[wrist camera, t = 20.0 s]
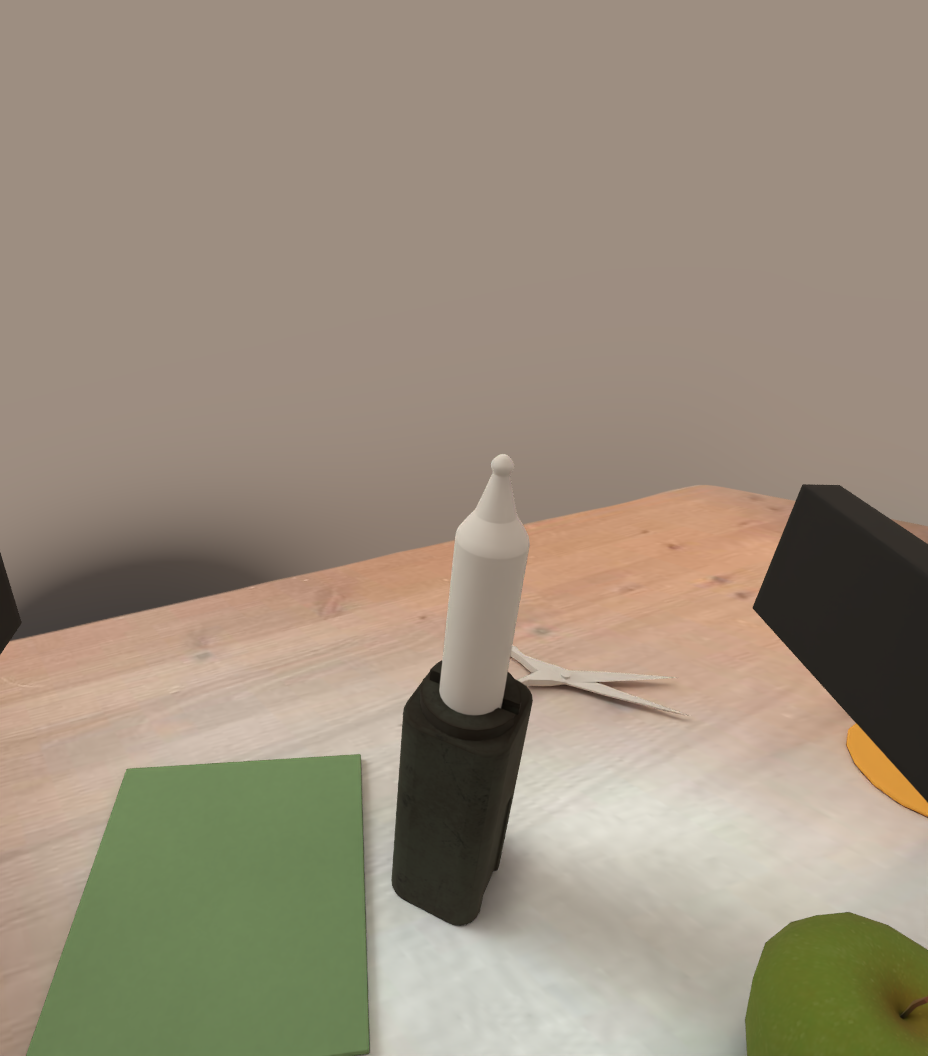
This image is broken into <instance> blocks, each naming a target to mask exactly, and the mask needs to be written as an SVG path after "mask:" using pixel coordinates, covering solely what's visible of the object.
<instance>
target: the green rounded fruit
mask: <svg viewBox="0 0 928 1056" xmlns="http://www.w3.org/2000/svg"><path fill="white" fill-rule="evenodd" d="M745 1026H746V1043H747V1056H928V950H927V949H926V948H924V947H922V946H921V945H919V944H917V943H916V942H914V941H913V940H911V939H909V938H908V937H906V936H905V935H903V934H901V933H900V932H898V931H897V930H895V929H893V928H892V927H890V926H888V925H886V924H883V923H880V922H877V921H874V920H871V919H868V918H865V917H862V916H859V915H856V914H853V913H850V912H845V913H836V914H826V915H816V916H813V917H809V918H805V919H802V920H798V921H794V922H791V923H789V924H788V925H787V926H786V927H784V928H783V929H782V930H781V931H779V932H778V933H777V934H776V935H775V936H773V937H772V938H771V939H770V940H768V941H767V942H766V943H765V946H764V949H763V951H762V954H761V957H760V960H759V963H758V966H757V968H756V971H755V974H754V977H753V981H752V986H751V992H750V997H749V1002H748V1007H747V1012H746V1017H745Z"/></svg>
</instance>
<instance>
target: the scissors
mask: <svg viewBox="0 0 928 1056" xmlns="http://www.w3.org/2000/svg"><path fill="white" fill-rule="evenodd" d="M510 656H511V657H512V658H514V659H515V660H517V661H518V662H519V663H521V664H522V665H523V666H524V667H525V668H526V669H527V670H529V671H530V672H531V673H532V674H529V675H527V676H525V677H523V678H521V679H518V681H520V682H522V683H523V684H524V685H526V686H554V685H561V684H564V685H570V686H573V687H577V688H580V689H584V690H587V691H591V692H594V693H598V694H601V695H605V696H608V697H612V698H616V699H620V700H624V701H628V702H632V703H636V704H640V705H644V706H648V707H652V708H656V709H659V710H663V711H667V712H672V713H677V714H682V715H687V714H684V713H681V712H678V711H676V710H673V709H670V708H667V707H664V706H662V705H659V704H656V703H653V702H651V701H648V700H645V699H642V698H639V697H636V696H633V695H630V694H627V693H624V692H622V691H619V690H616V689H614V688H611V687H608V686H606V685H603V684H599V683H596V682H608V681H629V680H647V679H664V678H677V677H665V676H653V675H641V674H629V673H615V672H597V671H577V670H566V669H564V668H562V667H560V666H556V665H553V664H550V663H546V662H543V661H540V660H537V659H534V658H532V657H529V656H526V655H524V654H523V653H521V652H520V651H519V649H518V648H517V647H516V646H512V650H511V655H510ZM688 716H690V715H688Z"/></svg>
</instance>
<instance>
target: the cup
mask: <svg viewBox="0 0 928 1056" xmlns="http://www.w3.org/2000/svg"><path fill="white" fill-rule="evenodd" d="M846 745H847V747H848V750H849V752H850V754H851V756H852V759H853V761H854V763H855V765H856V766H857V767H858V768H859V769H860V770H861V771H862V773H863V774H864V775H865V776H866V777H867V778H868V779H869V780H870V781H871V783H872V784H873V785H874V786H876V787H877V788H878V789H880V790H881V791H883V792H884V793H885V794H887V795H888V796H889V797H891V798H892V799H894V800H895V801H896V802H898V803H899V804H901V805H903V806H905V807H907V808H909V809H911V810H914V811H916V812H918V813H920V814H922V815H924V816H926V817H928V802H927V801H926V800H925V799H924V798H923V797H922V796H921V795H920V793H919V792H918V791H917V790H916V789H915V788H914V787H913V786H912V785H911V783H910V782H909V781H908V780H907V779H906V778H905V777H904V776H903V775H902V773H901V772H900V771H899V770H898V769H897V768H896V767H895V766H894V765H893V763H892V762H891V761H890V760H889V759H888V758H887V757H886V756H885V755H884V753H883V752H882V751H881V750H880V749H879V748H878V747H877V746H876V745H875V743H874V742H873V741H872V740H871V739H870V738H869V737H868V736H867V735H866V733H865V732H864V731H863V730H862V729H861V728H860V727H859V726H858V725H857V723H856V724H855V725H854V726H852V727H851V728H850V729H849V730H848V737H847V744H846Z"/></svg>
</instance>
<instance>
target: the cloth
mask: <svg viewBox="0 0 928 1056" xmlns="http://www.w3.org/2000/svg"><path fill="white" fill-rule="evenodd" d="M368 1053H369V1020H368V986H367V953H366V919H365V886H364V853H363V819H362V786H361V755H360V754H356V755H340V756H324V757H308V758H292V759H276V760H260V761H244V762H228V763H212V764H196V765H180V766H164V767H148V768H132V769H127V770H126V773H125V775H124V778H123V781H122V784H121V787H120V790H119V792H118V795H117V798H116V801H115V804H114V807H113V810H112V812H111V815H110V818H109V821H108V824H107V827H106V830H105V832H104V835H103V838H102V841H101V844H100V847H99V849H98V852H97V855H96V858H95V861H94V864H93V867H92V869H91V872H90V875H89V878H88V881H87V884H86V886H85V889H84V892H83V895H82V898H81V901H80V904H79V906H78V909H77V912H76V915H75V918H74V921H73V923H72V926H71V929H70V932H69V935H68V938H67V941H66V943H65V946H64V949H63V952H62V955H61V958H60V960H59V963H58V966H57V969H56V972H55V975H54V978H53V980H52V983H51V986H50V989H49V992H48V995H47V997H46V1000H45V1003H44V1006H43V1009H42V1012H41V1015H40V1017H39V1020H38V1023H37V1026H36V1029H35V1032H34V1034H33V1037H32V1040H31V1043H30V1046H29V1049H28V1052H27V1054H26V1056H355V1055H361V1054H368Z"/></svg>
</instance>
